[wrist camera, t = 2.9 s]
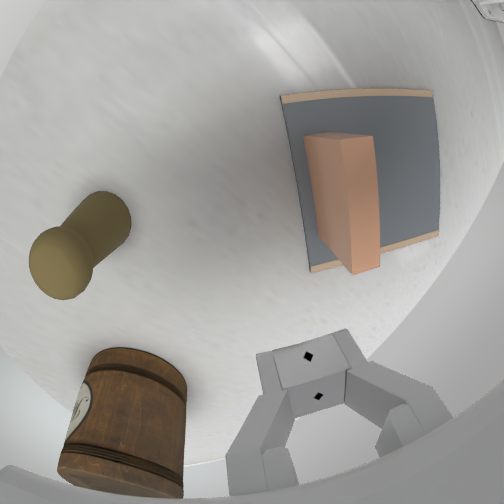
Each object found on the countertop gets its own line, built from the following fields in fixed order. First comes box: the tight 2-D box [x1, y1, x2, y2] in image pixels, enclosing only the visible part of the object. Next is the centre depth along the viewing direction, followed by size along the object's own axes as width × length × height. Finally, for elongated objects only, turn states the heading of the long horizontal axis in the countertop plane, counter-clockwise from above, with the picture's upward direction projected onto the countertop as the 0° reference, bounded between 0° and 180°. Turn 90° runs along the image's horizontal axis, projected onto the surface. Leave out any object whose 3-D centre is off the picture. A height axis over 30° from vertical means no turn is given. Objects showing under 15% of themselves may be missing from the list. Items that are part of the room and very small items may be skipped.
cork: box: [29, 191, 131, 300], centre depth 19 cm, size 6×6×11 cm
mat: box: [280, 88, 440, 273], centre depth 25 cm, size 18×18×1 cm
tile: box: [303, 132, 380, 275], centre depth 22 cm, size 2×10×8 cm, turn 12°
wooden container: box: [57, 348, 187, 499], centre depth 24 cm, size 15×15×22 cm
